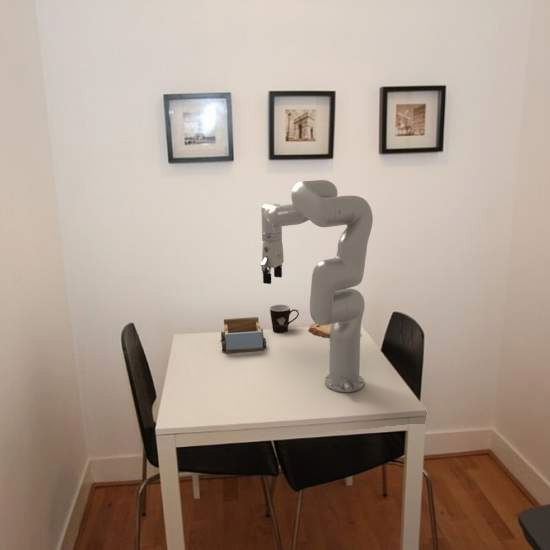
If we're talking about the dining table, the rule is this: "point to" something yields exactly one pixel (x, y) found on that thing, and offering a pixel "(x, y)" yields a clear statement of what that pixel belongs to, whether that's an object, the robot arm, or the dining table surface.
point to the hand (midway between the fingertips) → (272, 280)
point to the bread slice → (320, 330)
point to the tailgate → (244, 340)
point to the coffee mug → (281, 318)
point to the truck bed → (241, 326)
